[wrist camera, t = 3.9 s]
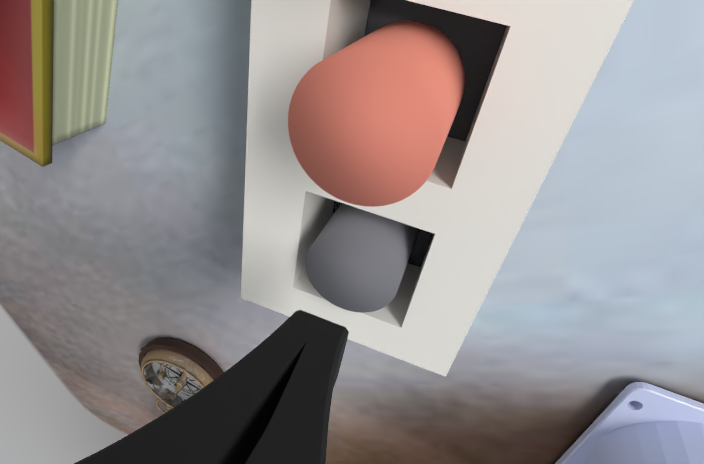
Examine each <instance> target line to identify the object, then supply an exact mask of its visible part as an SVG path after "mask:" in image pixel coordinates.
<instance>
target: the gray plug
mask: <svg viewBox="0 0 704 464" xmlns="http://www.w3.org/2000/svg"><path fill="white" fill-rule="evenodd" d="M419 230H420V229H419V228H416V227H413V226H410V225H407V224H404V223H401V222H398V221H395V220H392V219H389V218H386V217H383V216H380V215H377V214H374V213H371V212H368V211H365V210H362V209H359V208H356V207H353V206H350V205H347V204H344V203H341V204H340V206H339V207H338V208H337V210H336V211H335V213H334V214H333V216H332V217H331V218H330V220H329V221H328V223H327V224H326V225H325V227H324V228H323V230H322V231H321V232H320V234H319V235H318V237H317V238H316V239H315V241H314V242H313V244H312V245H311V247H310V248H309V250H308V252H307V255H306V259H305V267H306V272H307V275H308V278H309V280H310V282H311V284H312V285H313V287H314V288H315V289H316V291H317V292H318V293H319V294H320V295H321V296H322V297H323V298H325V299H326V300H327V301H329V302H330V303H332V304H334V305H335V306H337V307H340V308H342V309H345V310H348V311H353V312H360V313H366V312H373V311H377V310H380V309H382V308H384V307H386V306H387V305H388V304H389V303H390V302H391V301H392V300H393V299H394V297H395V295H396V293H397V291H398V288H399V285H400V282H401V280H402V277H403V274H404V271H405V269H406V266H407V263H408V260H409V258H410V255H411V252H412V249H413V247H414V244H415V241H416V239H417V236H418V233H419Z"/></svg>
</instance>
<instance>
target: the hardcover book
mask: <svg viewBox="0 0 704 464" xmlns="http://www.w3.org/2000/svg"><path fill="white" fill-rule="evenodd" d="M117 6H118V0H0V140H1V141H2V142H4V143H5V144H7V145H9V146H10V147H12V148H14V149H15V150H17V151H18V152H20V153H22V154H23V155H25V156H27V157H28V158H30V159H31V160H33V161H35V162H36V163H38V164H39V165H41V166H43V167H44V166H46V165H48V164H50V163H52V145H54V144H56V143H59V142H61V141H63V140H66V139H68V138H71V137H73V136H75V135H78V134H80V133H82V132H85V131H87V130H90V129H92V128H94V127H97V126H99V125H101V124H104V123H106V114H107V104H108V94H109V84H110V75H111V65H112V55H113V45H114V36H115V26H116V16H117Z"/></svg>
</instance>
